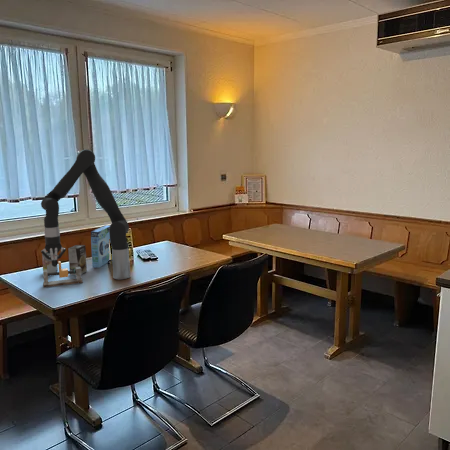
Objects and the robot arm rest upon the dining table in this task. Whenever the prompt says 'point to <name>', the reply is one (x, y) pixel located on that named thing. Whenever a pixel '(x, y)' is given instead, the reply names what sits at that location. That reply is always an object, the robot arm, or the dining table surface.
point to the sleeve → (62, 271)
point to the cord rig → (62, 282)
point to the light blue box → (100, 246)
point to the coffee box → (77, 258)
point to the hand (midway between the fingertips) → (54, 266)
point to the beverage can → (49, 264)
